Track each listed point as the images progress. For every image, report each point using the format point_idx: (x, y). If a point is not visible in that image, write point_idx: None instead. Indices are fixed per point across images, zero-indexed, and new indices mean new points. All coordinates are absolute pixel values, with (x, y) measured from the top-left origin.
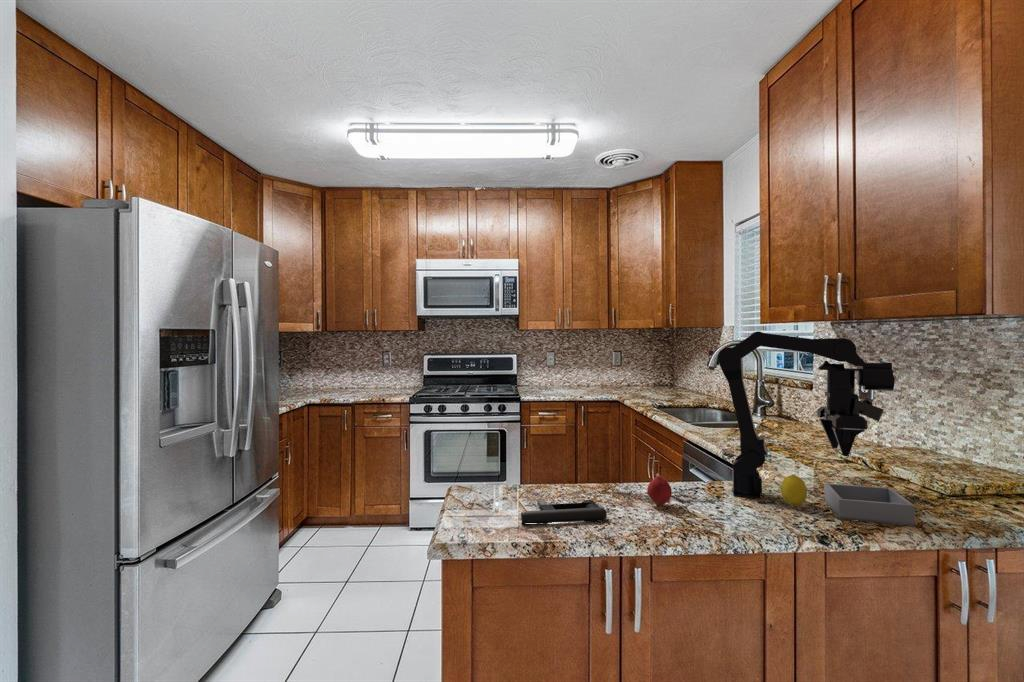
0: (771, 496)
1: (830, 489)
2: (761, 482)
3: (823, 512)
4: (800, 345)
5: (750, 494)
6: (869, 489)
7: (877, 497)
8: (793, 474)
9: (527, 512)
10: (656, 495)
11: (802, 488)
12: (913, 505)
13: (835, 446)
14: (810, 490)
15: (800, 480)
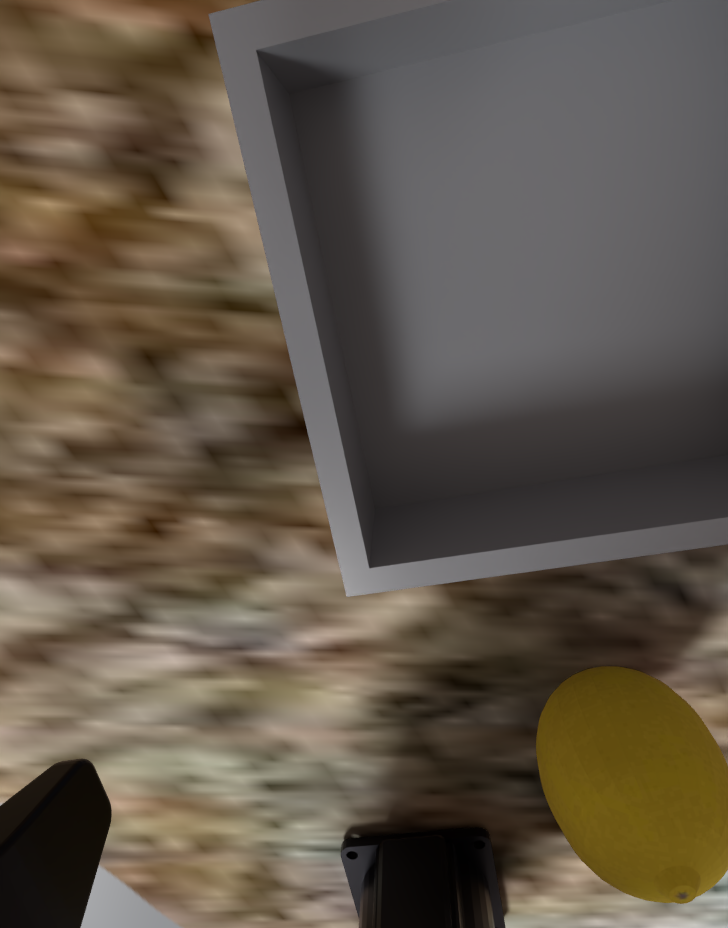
0: (407, 779)
1: (550, 563)
2: (446, 909)
3: None
4: None
5: (484, 879)
6: (300, 241)
7: (298, 176)
8: (682, 896)
9: None
10: None
11: (715, 757)
12: None
13: (85, 808)
14: (129, 594)
15: (707, 818)
